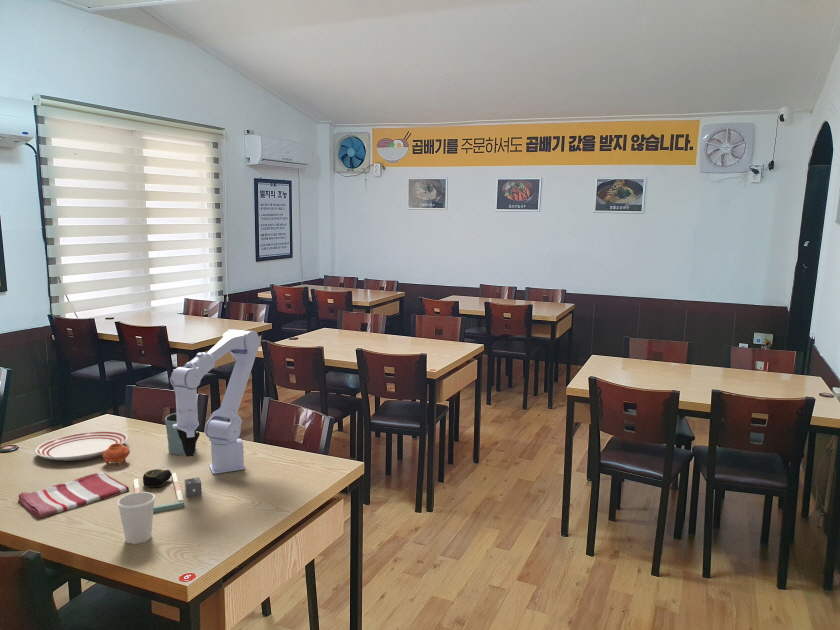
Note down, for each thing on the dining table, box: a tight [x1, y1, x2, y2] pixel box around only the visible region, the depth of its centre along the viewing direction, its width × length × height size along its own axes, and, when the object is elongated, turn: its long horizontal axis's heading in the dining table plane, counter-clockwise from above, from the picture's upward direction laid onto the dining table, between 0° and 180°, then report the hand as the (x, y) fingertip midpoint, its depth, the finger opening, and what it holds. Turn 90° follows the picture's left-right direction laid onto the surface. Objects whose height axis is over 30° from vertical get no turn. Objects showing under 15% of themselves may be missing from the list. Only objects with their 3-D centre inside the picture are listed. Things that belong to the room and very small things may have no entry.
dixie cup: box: [116, 491, 156, 545], centre depth 151 cm, size 8×8×10 cm
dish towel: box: [17, 471, 130, 519], centre depth 175 cm, size 17×23×3 cm
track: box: [133, 472, 185, 514], centre depth 176 cm, size 12×23×1 cm, turn 26°
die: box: [184, 476, 203, 499], centre depth 177 cm, size 4×4×4 cm
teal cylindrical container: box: [164, 412, 197, 456], centre depth 210 cm, size 10×10×12 cm
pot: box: [102, 444, 131, 467], centre depth 199 cm, size 8×8×7 cm
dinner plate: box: [34, 430, 129, 462], centre depth 210 cm, size 28×27×3 cm
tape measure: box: [142, 468, 173, 488], centre depth 183 cm, size 7×7×4 cm
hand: (189, 454), depth 182 cm, fingers open, 3 cm apart
